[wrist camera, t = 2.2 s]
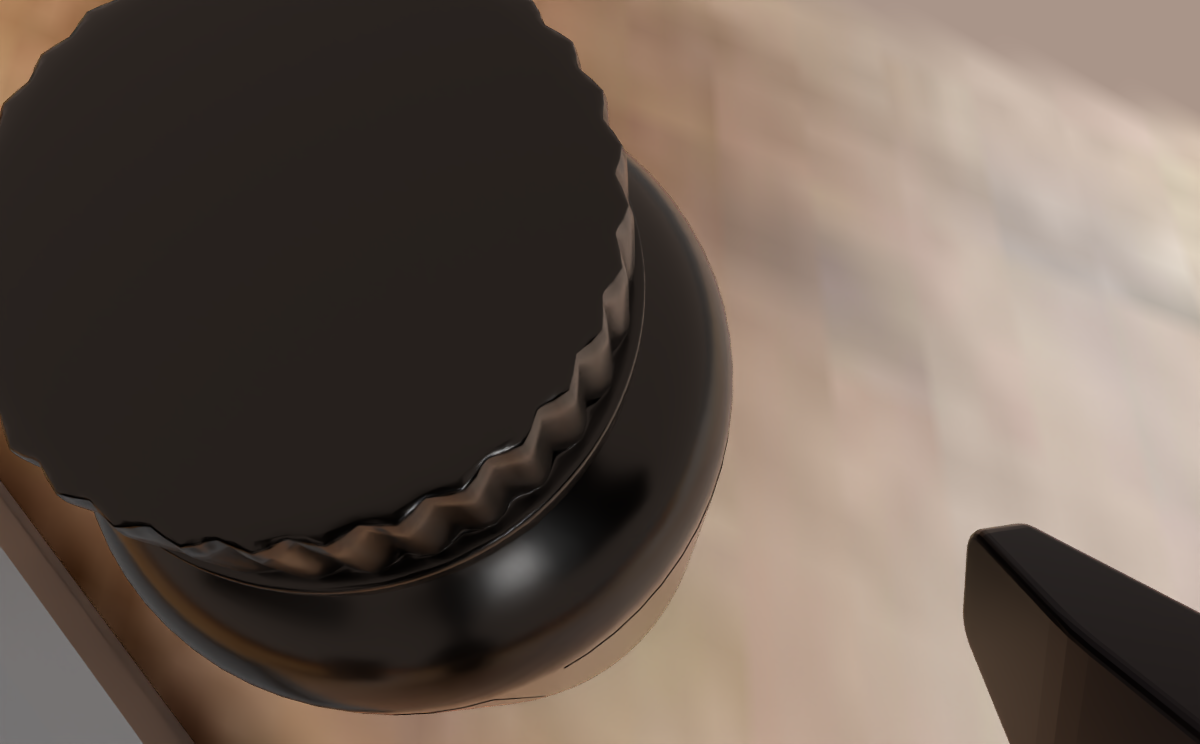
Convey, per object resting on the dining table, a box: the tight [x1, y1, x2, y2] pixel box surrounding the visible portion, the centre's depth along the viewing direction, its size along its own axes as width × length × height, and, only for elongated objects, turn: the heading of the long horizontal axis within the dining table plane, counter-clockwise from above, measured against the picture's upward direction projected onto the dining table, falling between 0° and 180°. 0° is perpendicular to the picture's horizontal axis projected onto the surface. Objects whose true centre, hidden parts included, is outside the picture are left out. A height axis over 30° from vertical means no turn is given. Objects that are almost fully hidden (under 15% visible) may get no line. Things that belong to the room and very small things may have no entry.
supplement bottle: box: [0, 0, 733, 715], centre depth 13 cm, size 7×7×12 cm
